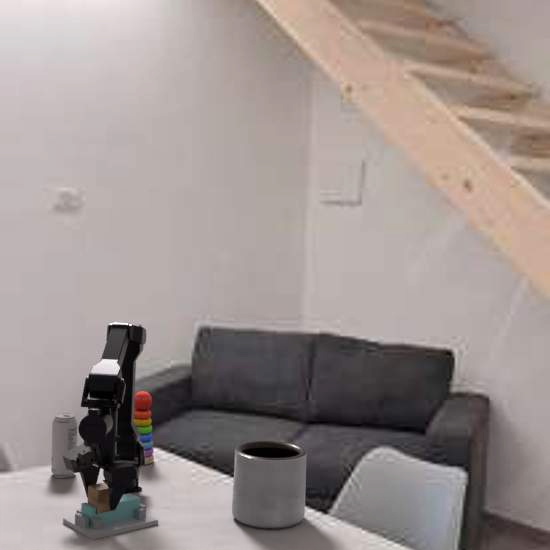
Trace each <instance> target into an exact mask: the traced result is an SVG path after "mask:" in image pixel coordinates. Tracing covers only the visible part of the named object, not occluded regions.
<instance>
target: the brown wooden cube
mask: <svg viewBox="0 0 550 550" xmlns="http://www.w3.org/2000/svg"><path fill="white" fill-rule="evenodd" d="M87 503H88V504H90V505H92V506H94V507H96V512H95V513H96V514H100V513H105V512H109V511H114V510H110V505H109V491H108V486H107V485H106V484H105V483H104V482H101V483H97V484H94V485H89V486H88V498H87Z"/></svg>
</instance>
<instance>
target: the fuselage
mask: <svg viewBox="0 0 550 550" xmlns="http://www.w3.org/2000/svg"><path fill="white" fill-rule="evenodd" d="M140 503H141V497H139V496H136V495H134V494H132V493H131V492H130V493H125V494H123V496H122V498H121V500H120V502H119V504H118V506H117V507H116V509H115V510H114V511H109V512H105V513H100V514H96V513H95V512H96V507H94V506H92V505H90V504H88V502H82V503H80V504H81V505H80V506H81V507H80V509H81V514H82V515H84V516H86V517H88V518H89V526H90V527H92V519H93V518H97V517H100V518H101V519H103V524H107V523H112V522H116V521H121V520H125V519H130V518H134V517H135V512H136V509H139V508H140Z"/></svg>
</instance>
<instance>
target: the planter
mask: <svg viewBox="0 0 550 550" xmlns="http://www.w3.org/2000/svg"><path fill="white" fill-rule="evenodd" d="M307 451H308V450H306V449H305V448H304V447H302V446H301V445H298V444H294V443H290V442H285V441H278V440H277V441H276V440H275V441H274V440H254V441H250V442H249V441H248V442H243V443H241V444H239V445H237V446H236V447H235V448H234V466H233V481H232V482H233V484H232V485H233V486H232V499H231V502H232V503H231V504H232V505H231V513H232V516H233V518H235V520H237V521H238V522H239V523H241V524H243V525H245V526H248V527H251V528H257V529H264V530H266V529H267V530H271V529H272V530H277V529H285V528H290V527H293V526H295V525H297V524H299V523H301V521H303V519H304V518H305V513H306V511H305V510H306V489H307V488H306V485H307V484H306V483H307V482H306V481H307V458H308V457H307V456H308V453H307Z"/></svg>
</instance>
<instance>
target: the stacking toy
mask: <svg viewBox="0 0 550 550" xmlns="http://www.w3.org/2000/svg"><path fill="white" fill-rule="evenodd" d="M152 403H153V399H152V395H151V394H150V393H149V392H147V391H142V390H141V391H138V392H135V403H134V423H135V425H136V427H137V428H138V430H139V432H140V441H142V444H143V447H144V450H145V465H149V464H152V463H153V462H154V460H155V457H154V448H153V446H154V441H153V433H152V431H153V426H152V418H151V416H152V411H151V410H150V409H149V408H151V406H152ZM136 459H138V458H136ZM145 465H144V466H145Z"/></svg>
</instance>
